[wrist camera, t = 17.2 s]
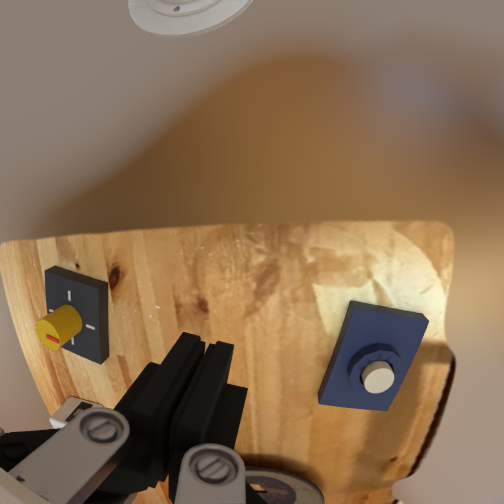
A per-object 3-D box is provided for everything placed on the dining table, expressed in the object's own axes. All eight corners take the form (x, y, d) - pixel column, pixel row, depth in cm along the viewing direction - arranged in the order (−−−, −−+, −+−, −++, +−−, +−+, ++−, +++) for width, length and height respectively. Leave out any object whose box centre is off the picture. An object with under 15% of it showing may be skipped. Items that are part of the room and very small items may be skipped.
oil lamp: (215, 511, 48) (208, 537, 41) (180, 423, 42) (164, 456, 34) (320, 513, 45) (321, 541, 38) (328, 423, 39) (331, 462, 31)
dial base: (55, 265, 38) (43, 270, 36) (108, 282, 38) (97, 289, 35) (59, 335, 41) (50, 342, 39) (109, 356, 41) (100, 365, 38)
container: (70, 395, 44) (31, 436, 32) (103, 404, 43) (65, 452, 31) (83, 425, 46) (50, 466, 34) (115, 434, 45) (84, 481, 33)
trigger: (367, 358, 32) (371, 366, 30) (395, 362, 31) (399, 370, 30) (357, 383, 33) (359, 391, 31) (383, 386, 32) (387, 394, 31)
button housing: (350, 300, 34) (356, 314, 30) (423, 313, 33) (435, 327, 30) (317, 393, 38) (319, 413, 34) (383, 401, 37) (390, 419, 33)
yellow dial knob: (60, 327, 38) (36, 344, 32) (58, 300, 37) (32, 315, 31) (83, 337, 37) (59, 356, 32) (82, 309, 36) (56, 327, 31)
